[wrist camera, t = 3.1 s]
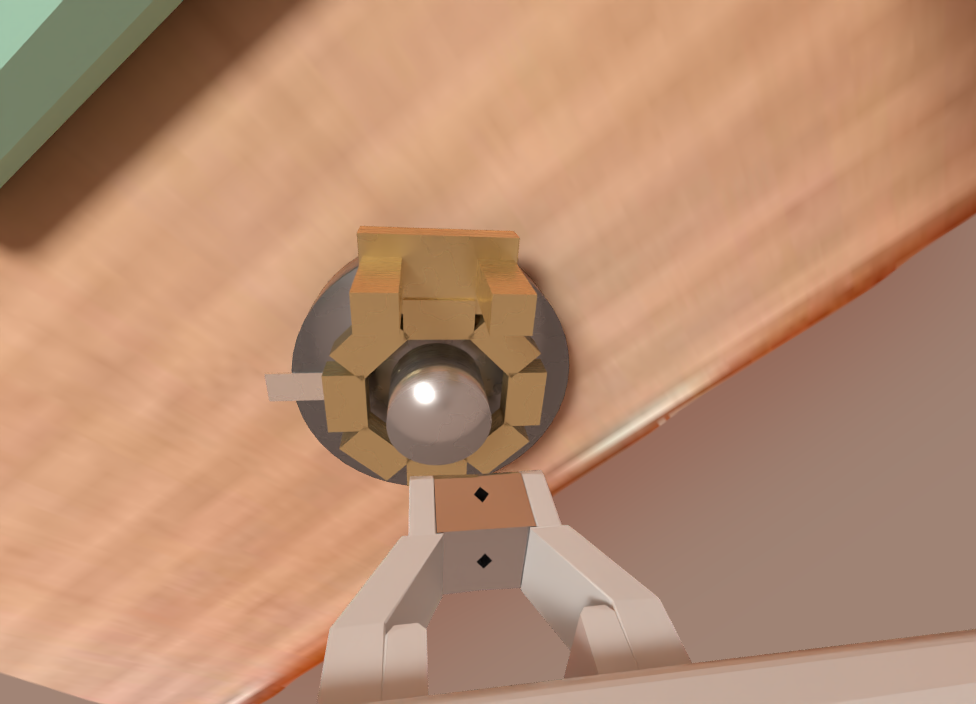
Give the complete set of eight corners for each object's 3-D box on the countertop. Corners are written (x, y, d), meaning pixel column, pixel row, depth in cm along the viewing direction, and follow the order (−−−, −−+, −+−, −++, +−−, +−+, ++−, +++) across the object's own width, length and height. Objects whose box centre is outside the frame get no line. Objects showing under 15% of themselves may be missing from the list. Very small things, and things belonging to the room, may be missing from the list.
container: (-164, 247, 19) (254, -217, 15) (-264, 129, 19) (137, -389, 14) (-3, 253, 25) (334, -78, 21) (-76, 162, 25) (253, -198, 20)
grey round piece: (436, 172, 27) (444, 191, 20) (603, 360, 34) (647, 417, 28) (245, 364, 31) (198, 432, 24) (433, 493, 38) (437, 572, 32)
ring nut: (526, 462, 34) (551, 539, 28) (339, 470, 32) (320, 556, 25) (556, 232, 26) (600, 269, 20) (311, 224, 24) (275, 262, 18)
